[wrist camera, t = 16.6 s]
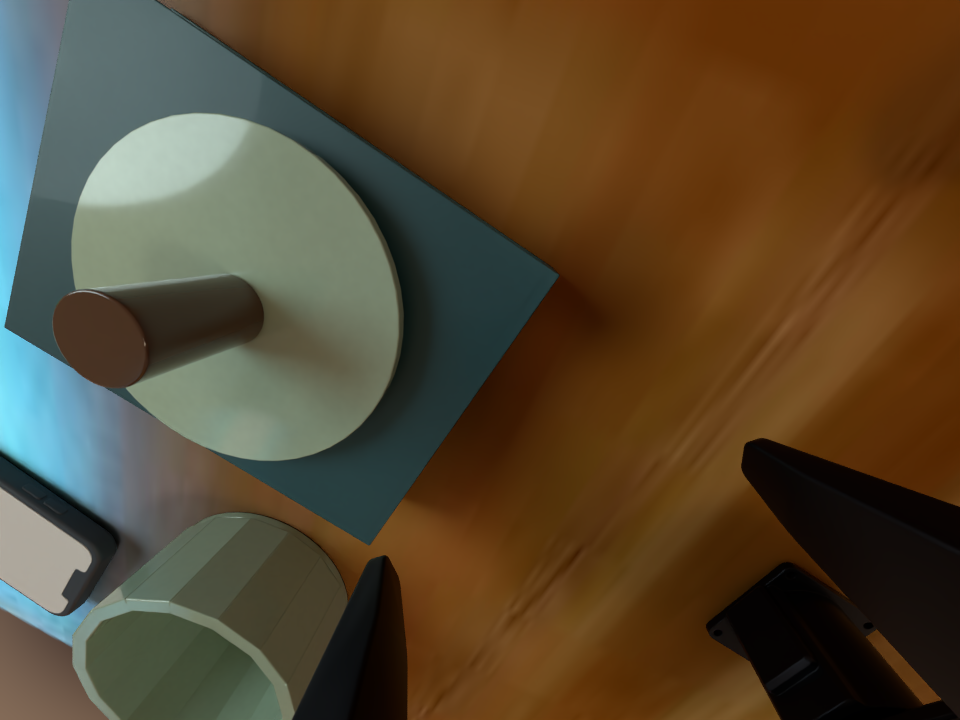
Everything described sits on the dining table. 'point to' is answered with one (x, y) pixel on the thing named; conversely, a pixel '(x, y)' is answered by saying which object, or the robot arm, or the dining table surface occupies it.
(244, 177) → the cover
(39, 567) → the smartphone
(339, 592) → the dish
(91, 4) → the book
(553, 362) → the dining table surface
